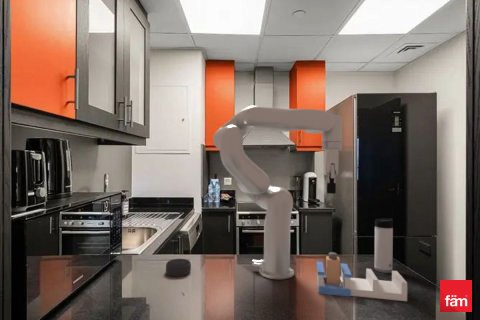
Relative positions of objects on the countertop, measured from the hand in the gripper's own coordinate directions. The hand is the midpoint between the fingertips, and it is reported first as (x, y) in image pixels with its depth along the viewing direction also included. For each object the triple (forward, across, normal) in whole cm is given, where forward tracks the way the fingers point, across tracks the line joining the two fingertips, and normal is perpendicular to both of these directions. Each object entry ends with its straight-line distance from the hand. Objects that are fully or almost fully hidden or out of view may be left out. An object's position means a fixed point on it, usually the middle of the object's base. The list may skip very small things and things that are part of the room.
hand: (331, 193), depth 117 cm
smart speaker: (+30, +20, -55) cm, 66 cm away
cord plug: (+29, +20, -1) cm, 35 cm away
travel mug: (+29, -2, +20) cm, 36 cm away
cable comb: (+29, +20, +7) cm, 36 cm away
